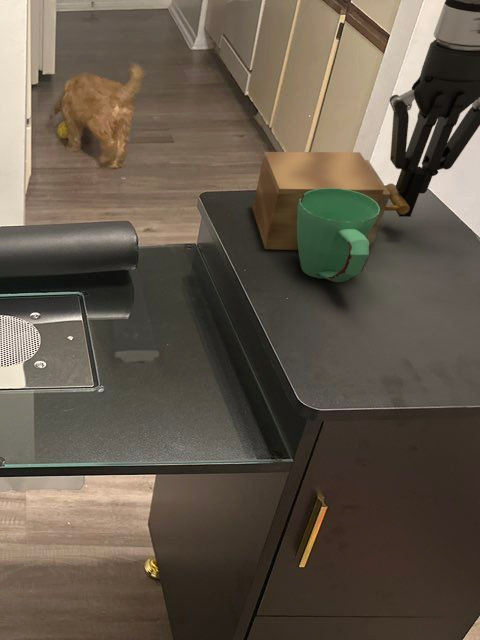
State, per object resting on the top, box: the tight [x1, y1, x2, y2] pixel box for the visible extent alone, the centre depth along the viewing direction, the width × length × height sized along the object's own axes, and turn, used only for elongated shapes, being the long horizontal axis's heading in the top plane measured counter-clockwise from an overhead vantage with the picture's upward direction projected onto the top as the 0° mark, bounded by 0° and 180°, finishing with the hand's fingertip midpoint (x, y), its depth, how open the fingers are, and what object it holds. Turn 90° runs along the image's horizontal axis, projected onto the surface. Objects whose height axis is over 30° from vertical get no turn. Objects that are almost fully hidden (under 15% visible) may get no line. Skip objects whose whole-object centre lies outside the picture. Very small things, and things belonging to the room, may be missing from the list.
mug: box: [297, 188, 380, 283], centre depth 97 cm, size 15×10×10 cm
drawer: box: [364, 159, 410, 245], centre depth 107 cm, size 17×11×8 cm
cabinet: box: [251, 151, 384, 251], centre depth 107 cm, size 14×13×10 cm
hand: (402, 212), depth 107 cm, fingers closed
